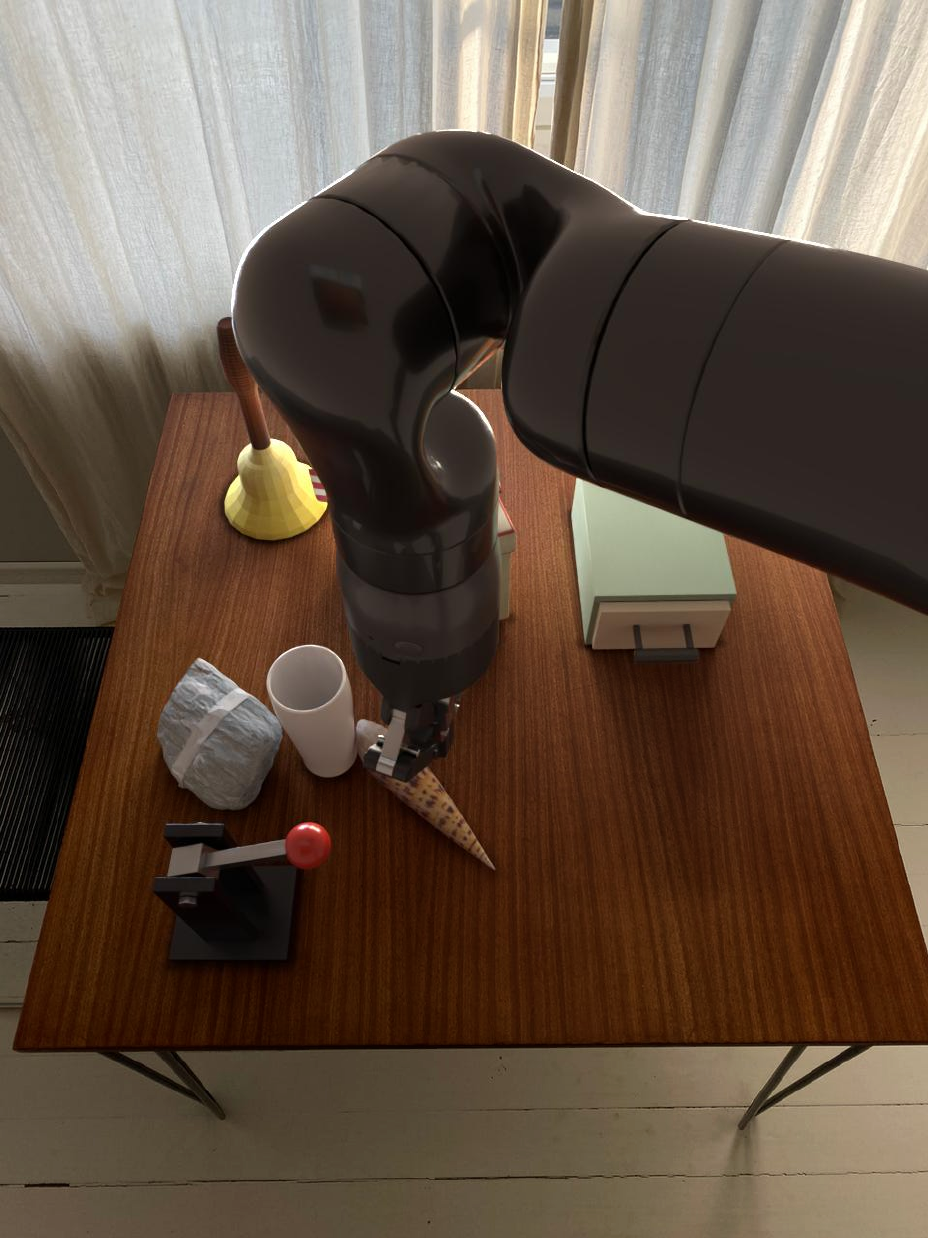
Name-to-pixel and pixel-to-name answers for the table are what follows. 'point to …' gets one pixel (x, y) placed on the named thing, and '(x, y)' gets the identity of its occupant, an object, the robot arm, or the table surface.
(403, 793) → the seashell
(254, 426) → the handbell
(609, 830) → the table surface
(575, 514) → the cabinet
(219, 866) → the lever
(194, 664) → the decorative stone
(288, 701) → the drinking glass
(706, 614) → the drawer
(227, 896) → the bracket
